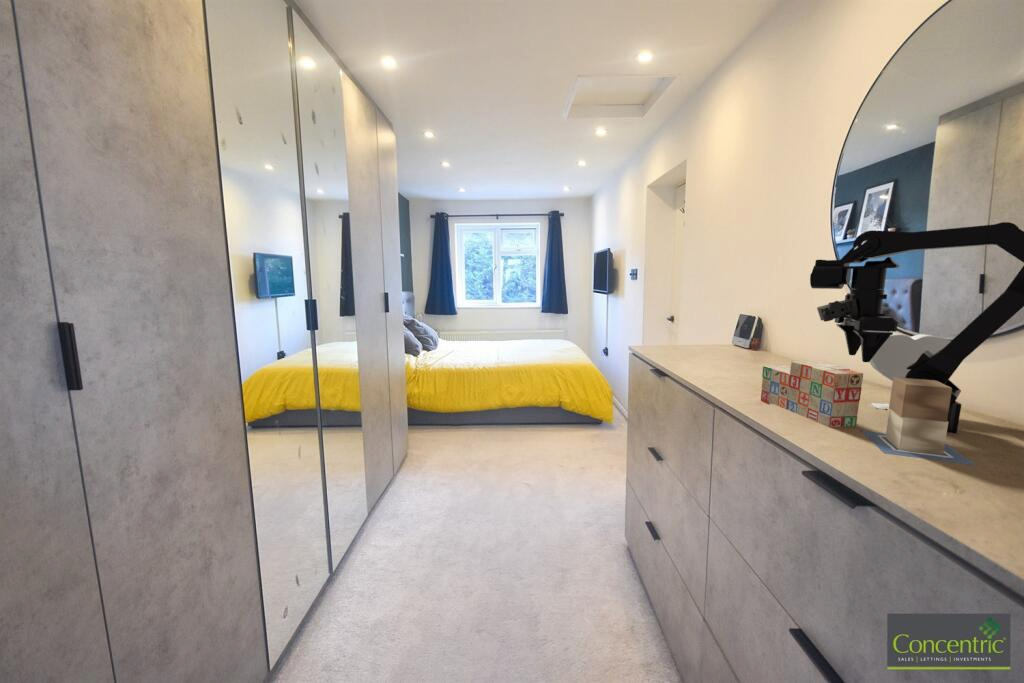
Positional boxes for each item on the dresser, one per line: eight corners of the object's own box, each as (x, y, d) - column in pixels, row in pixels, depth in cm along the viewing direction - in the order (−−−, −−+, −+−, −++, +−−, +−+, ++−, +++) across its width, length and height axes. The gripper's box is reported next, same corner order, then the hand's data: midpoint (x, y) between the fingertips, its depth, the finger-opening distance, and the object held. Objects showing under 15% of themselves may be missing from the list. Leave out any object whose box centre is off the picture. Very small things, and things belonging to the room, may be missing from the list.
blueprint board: (938, 442, 80) (939, 439, 80) (976, 468, 69) (977, 464, 69) (860, 433, 85) (860, 430, 84) (883, 456, 74) (884, 452, 74)
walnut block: (931, 412, 77) (935, 380, 76) (946, 422, 72) (952, 388, 71) (889, 407, 80) (893, 377, 79) (901, 417, 74) (905, 384, 74)
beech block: (926, 442, 78) (931, 411, 77) (943, 455, 73) (948, 421, 72) (885, 437, 81) (889, 407, 80) (898, 449, 75) (903, 417, 74)
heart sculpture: (938, 409, 100) (950, 335, 97) (950, 416, 95) (962, 337, 93) (857, 402, 106) (866, 331, 103) (865, 407, 101) (874, 334, 99)
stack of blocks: (759, 401, 108) (763, 353, 106) (782, 400, 108) (786, 353, 106) (829, 430, 86) (836, 372, 85) (857, 429, 87) (864, 372, 85)
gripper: (813, 288, 105) (806, 349, 107) (834, 290, 88) (826, 363, 90) (869, 288, 100) (861, 352, 102) (903, 290, 83) (892, 367, 85)
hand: (858, 358), depth 95 cm, fingers open, 9 cm apart
